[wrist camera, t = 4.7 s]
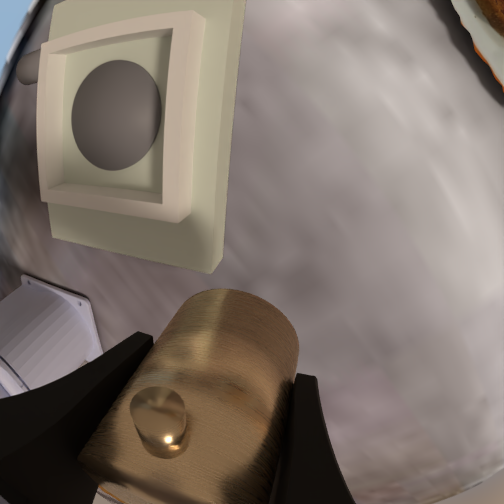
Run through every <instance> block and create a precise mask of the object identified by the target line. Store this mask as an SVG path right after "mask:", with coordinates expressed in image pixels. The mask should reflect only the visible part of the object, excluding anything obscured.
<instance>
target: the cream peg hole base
mask: <svg viewBox="0 0 504 504" xmlns="http://www.w3.org/2000/svg"><path fill="white" fill-rule="evenodd" d="M245 5H246V0H66V1H64V2H61V3H59V4H57V5H54V10H53V15H52V21H51V27H50V33H49V40H48V42H46V43H43V44H42V45H41V49H39V50H36V51H34V52H31V53H29V54H26V55H24V56H23V57H22V58H21V59H20V61H19V62H18V65H17V69H16V73H17V78H18V80H19V81H20V82H21V83H22V84H24V85H30V84H34V83H37V82H38V88H37V157H38V173H39V184H40V194H41V201H42V202H47V203H48V211H49V218H50V225H51V232H52V237H54V238H58V239H62V240H66V241H70V242H74V243H78V244H82V245H86V246H90V247H94V248H98V249H102V250H107V251H111V252H115V253H119V254H123V255H128V256H132V257H136V258H141V259H145V260H149V261H154V262H158V263H163V264H167V265H172V266H176V267H181V268H185V269H190V270H194V271H199V272H204V273H208V274H212V272H213V271H214V270H215V268H216V267H217V265H218V264H219V262H220V261H221V260H222V258H223V246H224V230H225V216H226V201H227V188H228V175H229V162H230V150H231V139H232V127H233V116H234V106H235V95H236V85H237V75H238V66H239V56H240V47H241V38H242V30H243V21H244V13H245Z"/></svg>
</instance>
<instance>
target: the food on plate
mask: <svg viewBox="0 0 504 504" xmlns="http://www.w3.org/2000/svg"><path fill="white" fill-rule="evenodd" d="M451 2H452V4H453V6H454V8H455V10H456V11H457V13H458V14H459V16H460V19H461V24H462V25H463V26H464V27H465V28H466V29H467V30H468V31H469V32H470V34H471V37H472V39H473V44H474V50H475V51H476V52H477V54H478V55H479V56H480V57H481V58H482V60H483V61H484V62H485V63H487V64H488V65H489V66H490V68H491V71H492V73H493V75H494V77H495V79H496V80H497V81H498V82H499V83H500V84H501V85H502V88H503V92H504V0H451Z"/></svg>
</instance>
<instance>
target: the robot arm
mask: <svg viewBox="0 0 504 504" xmlns="http://www.w3.org/2000/svg"><path fill="white" fill-rule="evenodd" d="M21 281H22V285H21V286H20V287H18V288H17V289H16V290H14V291H13V292H12V293H10V294H9V295H8V296H6V297H5V298H4V299H3V300H1V301H0V504H92V503H93V500H94V497H95V494H96V492H97V489H98V486H99V484H98V483H96V482H95V481H94V480H93V479H92V478H91V477H90V476H89V475H88V474H87V473H86V472H85V471H84V470H83V469H82V468H81V466H80V465H79V463H78V460H77V458H78V456H79V454H80V453H81V451H82V449H83V448H84V446H85V445H86V443H87V442H88V440H89V439H90V437H91V436H92V434H93V433H94V431H95V430H96V428H97V427H98V425H99V424H100V422H101V421H102V419H103V418H104V416H105V415H106V413H107V412H108V410H109V409H110V407H111V406H112V404H113V403H114V402H115V400H116V399H117V397H118V396H119V394H120V393H121V391H122V390H123V388H124V387H125V385H126V384H127V383H128V381H129V380H130V378H131V377H132V375H133V374H134V372H135V371H136V369H137V368H138V367H139V365H140V364H141V362H142V361H143V359H144V358H145V357H146V355H147V354H148V352H149V351H150V349H151V348H152V347H153V345H154V343H153V336H151V335H148V334H145V333H142V332H139V331H138V332H136V333H134V334H133V335H131V336H130V337H128V338H127V339H125V340H123V341H122V342H120V343H119V344H117V345H116V346H114V347H113V348H111V349H110V350H108V351H107V352H105V353H104V354H103V351H102V348H101V344H100V340H99V337H98V333H97V329H96V325H95V321H94V317H93V313H92V309H91V304H90V302H89V300H88V299H87V298H85V297H82V296H79V295H76V294H73V293H71V292H68V291H65V290H63V289H60V288H57V287H55V286H52V285H50V284H47V283H45V282H42V281H40V280H37V279H35V278H32V277H30V276H27V275H25V274H23V275H22V276H21ZM84 360H87V361H89V363H87V364H86V365H84V366H82V367H80V368H78V367H79V366H80V365H81V364H82V363H83V361H84ZM77 368H78V369H77ZM269 504H356V503H355V501H354V500H353V498H352V495H351V493H350V491H349V489H348V487H347V485H346V483H345V480H344V478H343V475H342V473H341V471H340V468H339V465H338V463H337V460H336V457H335V454H334V451H333V448H332V445H331V442H330V439H329V435H328V431H327V428H326V424H325V420H324V416H323V412H322V407H321V402H320V397H319V390H318V381H317V378H316V377H315V376H311V375H305V374H300V373H297V374H296V378H295V381H294V384H293V389H292V395H291V400H290V406H289V412H288V418H287V423H286V428H285V433H284V438H283V443H282V448H281V453H280V457H279V462H278V467H277V471H276V476H275V480H274V484H273V488H272V493H271V497H270V501H269Z"/></svg>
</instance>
